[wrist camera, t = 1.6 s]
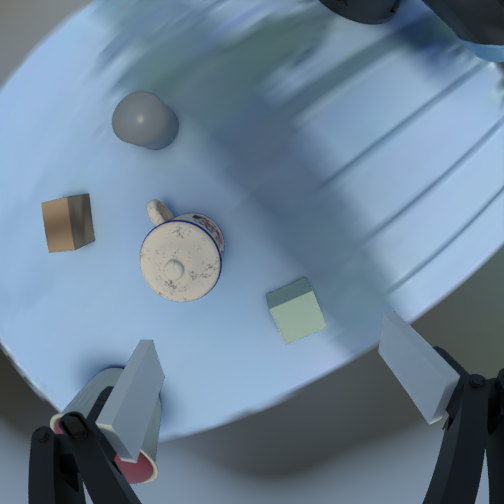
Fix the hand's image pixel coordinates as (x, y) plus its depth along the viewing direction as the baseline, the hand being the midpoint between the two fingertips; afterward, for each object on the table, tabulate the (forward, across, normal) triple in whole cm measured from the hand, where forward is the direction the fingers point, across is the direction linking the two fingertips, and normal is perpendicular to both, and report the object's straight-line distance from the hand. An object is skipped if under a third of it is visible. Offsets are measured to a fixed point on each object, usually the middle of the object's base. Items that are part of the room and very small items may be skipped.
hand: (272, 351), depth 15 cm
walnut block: (+24, -26, +7) cm, 36 cm away
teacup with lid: (+24, -9, +3) cm, 26 cm away
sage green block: (+24, +5, -9) cm, 26 cm away
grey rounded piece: (+24, -11, +18) cm, 32 cm away
